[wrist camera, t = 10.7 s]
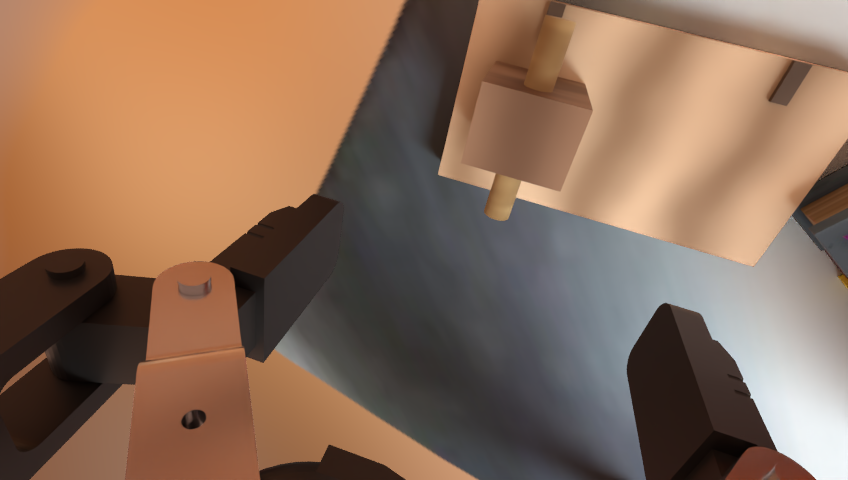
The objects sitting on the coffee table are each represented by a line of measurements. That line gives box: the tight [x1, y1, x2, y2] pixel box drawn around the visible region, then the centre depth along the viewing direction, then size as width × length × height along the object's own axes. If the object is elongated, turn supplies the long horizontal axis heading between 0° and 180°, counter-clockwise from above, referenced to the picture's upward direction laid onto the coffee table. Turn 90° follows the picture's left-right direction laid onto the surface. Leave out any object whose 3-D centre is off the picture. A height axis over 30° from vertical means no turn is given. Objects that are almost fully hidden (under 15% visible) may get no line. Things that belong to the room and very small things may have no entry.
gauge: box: [461, 15, 593, 221], centre depth 24 cm, size 5×10×6 cm, turn 169°
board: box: [438, 0, 848, 267], centre depth 26 cm, size 20×11×2 cm, turn 79°
